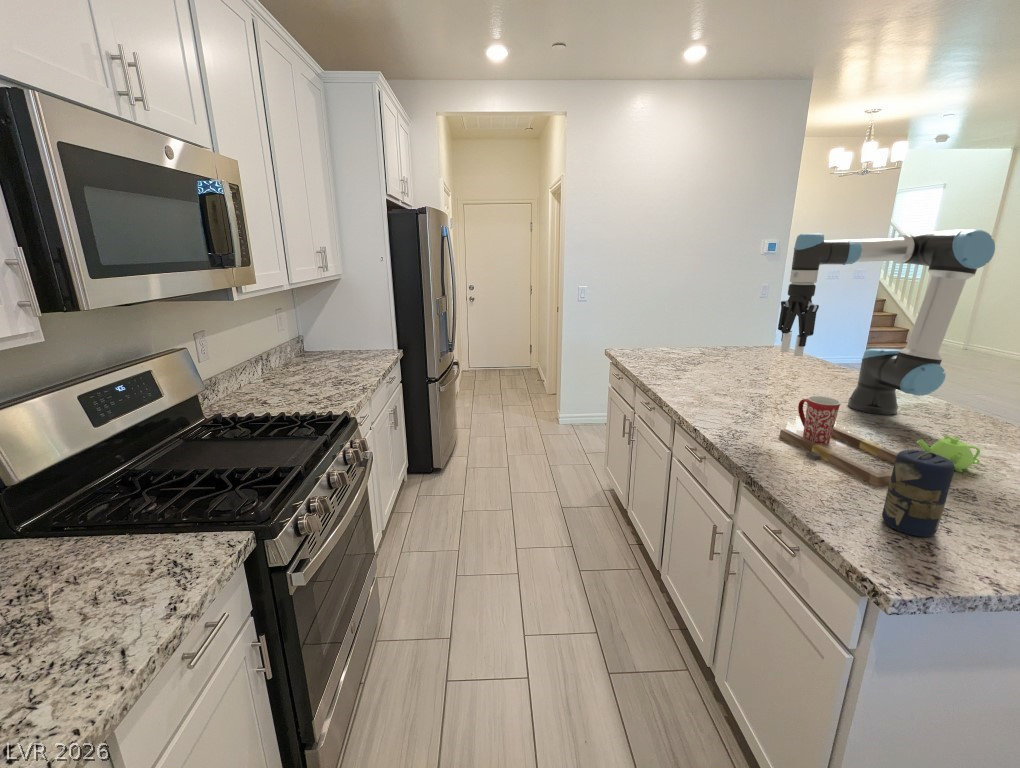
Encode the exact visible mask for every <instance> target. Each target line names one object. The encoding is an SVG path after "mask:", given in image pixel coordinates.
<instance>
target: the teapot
mask: <svg viewBox="0 0 1020 768" xmlns="http://www.w3.org/2000/svg"><path fill="white" fill-rule="evenodd" d="M916 443H917V445H919V446H920V448H922V450H923V451H926V452H932V453H935V454H938V455H940V456H943V457H945V458H947V459H949V460H950V461H951V462H952V463H953V464H954V466H955V470H954V472H958V473H964V471H963V470H964V469H968V468H970V467H971V466H973V465H979V464H980V462H981V461H980V459H979V458H978V457H979V455H980V454H981V450H980V448H979V447H978V446H976V445H968V444H967V443H966V442H965V441H964V442H963V441H961V440H960V438H957V437H953V436H947V435H946V436H944V438H940V439H939V440H937V441H935V442H934V443H933V444H931V446H929V445H928V444H927V443H926V441H924V440H923V439H918V440H917V441H916ZM971 449H975V450H976V453H975V454H974V455H973V452H972V450H971Z"/></svg>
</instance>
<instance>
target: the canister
mask: <svg viewBox="0 0 1020 768" xmlns="http://www.w3.org/2000/svg"><path fill="white" fill-rule="evenodd" d="M897 453H898V454H897V457H896V460H895V464H894V463H893V469H892V471H893V472H892V476H891V479H890V483H889V485H888V488H887V491H886V497H885V501H884V505H883V508H882V509H883V510H882V519H883V521H884V522H885V524H886V525H888V526H889V527H890V528H893V529H894V530H896V531H899V532H901V533H904V534H906V535H911V536H914V537H915V536H916V537H932V536H934V535H935V534H936V533H937V532H938V530H939V527H940V522H941V519H942V516H943V512H944V509H945V506H946V502H947V497H948V494H949V491H950V487H951V484H952V480H953V477H954V473H955V466H954V464H953V463H952V462H951V461H950V460H949V459H947V458H945V457H943V456H940V455H938V454H935V453H932V452H926V451H925V450H920V449H919V450H918V449H904V450H901V451H899V452H897Z"/></svg>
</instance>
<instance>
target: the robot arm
mask: <svg viewBox="0 0 1020 768" xmlns="http://www.w3.org/2000/svg"><path fill="white" fill-rule="evenodd" d="M995 253H996V243H995V240H994V239H993V238H992V235H991V234H990V233H989V232H988V231H985V230H983V229H976V228H974V229H973V228H964V229H947V230H941V229H940V230H932V231H926V232H919V233H910V234H901V235H899V236H898V237H893V238H892V237H888V238H887V237H886V238H884V237H883V238H861V239H860V238H857V239H856V238H855V239H854V238H852V239H829V240H828V239H827V240H826V239H825V234H824V233H800V234H799V235H797V237H796V239H795V244H794V247H793V257H792V262H791V263H792V264H791V271H790V277H789V282H790V284H789V285H788V289H787V296H789V297H788V300H782V301H781V302H780V314H779V318H778V319H779V320H778V325H777V330H778V331H780V332H781V340H780V341H781V345H780V353H790V347H791V340H792V332H793V331H792V327H793V325H794V323H795V320H796V318H797V317H798V335H797V336H796V340H795V346H794V351H793V357H803V355H804V348H805V347H806V345H807V339H808V337H811V336H813V335H814V332H815V331H814V330H815V326H816V318H817V312H818V310H819V307H820V306H819V304H814V303H813V301H812V298H813V297H814V296H815V294H816V283H817V282H818V274H819V269H820V266H821V265H843V266H845V265H853V264H854V263H858V262H860V263H861V262H891V261H892V262H894V263H896V264H910V265H917V266H919V265H920V266H927V267H928V268H927V271H928V273H929V274H930V276H931V278H930V280H929V283H928V285H927V289H926V291H925V294H924V297H923V300H922V302H921V304H920V307H919V310H918V313H917V316H916V319H915V321H914V325H913V327H912V330H911V332H910V335H909V337H908V341H907V344H906V346H905V347H904V348H902V349H898V348H867V349H866V350H865V351H864V353H863V355H862V358H861V362H860V363H861V364H860V368H859V373H858V374H859V375H858V379H857V380H858V381H857V385H856V387H855V388H854V390H853V392H852V394H851V395H850V397H849V398H848V402H847V406H848V407H850V408H851V409H854V410H856V411H859V412H864V413H867V414H873V415H874V414H876V415H884V416H885V415H888V416H890V415H895V414H897V412H898V409H899V404H898V400H897V394H896V393H897V392H896V390H897V391H901V392H903V393H904V394H909V395H913V396H917V397H920V396H921V397H923V396H927V395H929V394H932V393H933V392H935V391H937V390H938V389H940V387H942V385H943V383H944V381H945V379H946V376H947V375H946V371H945V369H944V368H943V367H942V366H941V363H942V361H943V357H942V356H941V354H940V350H941V347H942V345H943V341H944V339H945V336H946V333H947V332H948V329H949V326H950V323H951V321H952V318H953V315H954V314H955V310H956V308H957V305H958V303H959V300H960V298H961V295H962V293H963V289H964V287H965V284H966V282H967V280H970V278H973V277H975V276H976V273H977V271H978V269H980V268H983V267H985V266H986V265H987V264H989V263H990V262H991V260H992V259H993V257H994V255H995Z"/></svg>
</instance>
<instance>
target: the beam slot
mask: <svg viewBox="0 0 1020 768" xmlns="http://www.w3.org/2000/svg"><path fill="white" fill-rule="evenodd" d="M831 437H833V438H835V439H838V440H840V441H842V442H845V443H846V444H849V445H851V446H853V447H855V448H858V449H860V450H862V451H864V452H866V453H869V454H872V455H873V456H876V457H878V458H880V459H882V460H885V461H887V462H889V463H892V464H893V465H894V464H895V460H896V457H897V454H898V453H899V452H895V451H893V450H891V449H889V448H886V447H883V446H881V445H878V444H877V443H874V442H872V441H870V440H867V439H865V438H863V437H860V436H857V435H855V434H853V433H850V432H848V431H845V430H843V429H841V428H838V427H836V426H834V428H833V431H832V435H831ZM779 438H781V439H783V440H785V441H787V442H789V443H791V444H793V445H794V446H797V447H798V448H801V449H803V450H804V451H807V452H806V457H808V458H809V459H811V460H814V461H818V460H821V459H822V460H824V461H826V462H827V463H830V464H832V465H834V466H836V467H838V468H840V469H842V470H844V471H845V472H847V473H849V474H851V475H853V476H855V477H857V478H859V479H861V480H863V481H865V482H867V483H869V484H871V485H873V486H875V487H880V486H889V483H890V479H891V476H892V472H893V470H892V471H885V472H884V471H883V472H876V471H874V470H872V469H869V468H868V467H866V466H863V465H862V464H859V463H857V462H856V461H853V460H851V459H849V458H847V457H845V456H843V455H841V454H838V453H836V452H834V451H833V450H830V449H829V448H827V447H824V446H822V445H821V444H816V443H814V442H812V441H810V440H808V439H806V438H803V436H801V435H799V434H797V433H795V432H792V431H790V430H789V429H786V428H784V429H780V432H779Z"/></svg>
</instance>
